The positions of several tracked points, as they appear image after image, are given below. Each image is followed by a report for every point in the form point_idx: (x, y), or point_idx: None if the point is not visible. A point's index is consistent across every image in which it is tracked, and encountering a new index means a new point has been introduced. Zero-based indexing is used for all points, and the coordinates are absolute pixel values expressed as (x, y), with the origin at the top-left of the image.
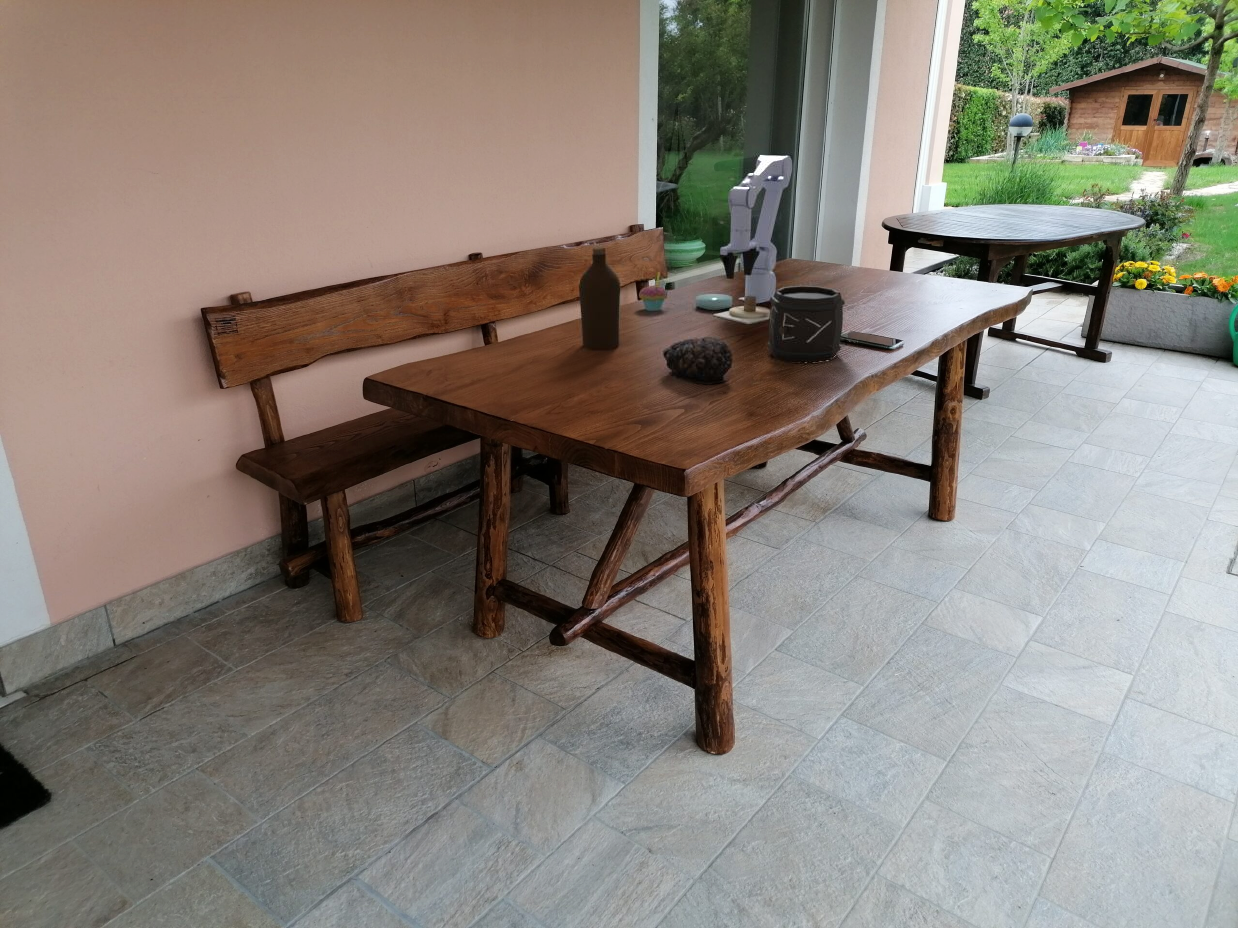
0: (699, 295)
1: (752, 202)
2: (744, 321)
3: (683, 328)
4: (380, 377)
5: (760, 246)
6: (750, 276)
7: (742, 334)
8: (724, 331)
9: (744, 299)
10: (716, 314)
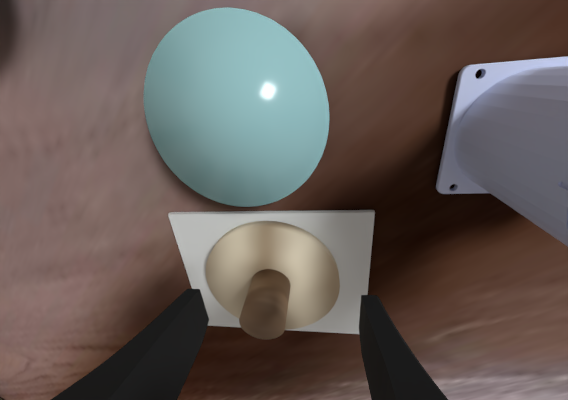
0: (198, 13)
1: None
2: None
3: (37, 253)
4: None
5: None
6: (552, 188)
7: None
8: (122, 321)
9: (243, 307)
10: (178, 220)
